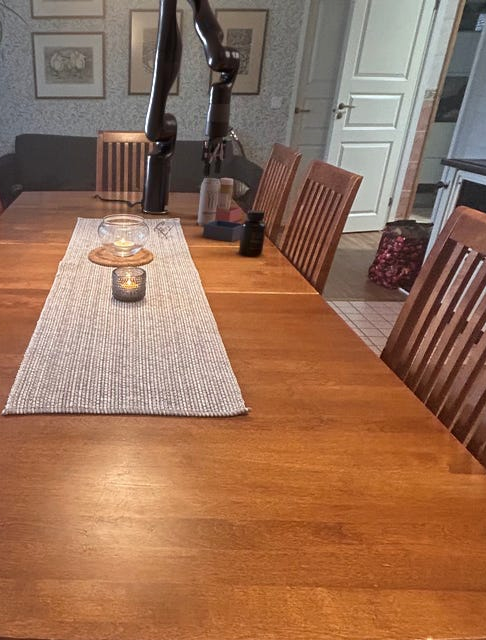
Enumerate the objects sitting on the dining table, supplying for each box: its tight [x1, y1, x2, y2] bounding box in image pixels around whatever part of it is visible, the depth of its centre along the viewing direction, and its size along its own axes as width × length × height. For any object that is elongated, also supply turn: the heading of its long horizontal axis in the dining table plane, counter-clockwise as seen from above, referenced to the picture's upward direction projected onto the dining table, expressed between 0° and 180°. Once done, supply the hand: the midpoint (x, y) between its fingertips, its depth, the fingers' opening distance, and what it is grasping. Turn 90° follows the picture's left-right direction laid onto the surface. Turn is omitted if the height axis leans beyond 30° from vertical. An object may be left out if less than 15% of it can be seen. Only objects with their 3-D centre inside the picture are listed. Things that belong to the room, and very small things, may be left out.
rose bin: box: [215, 204, 242, 222], centre depth 220 cm, size 10×10×4 cm
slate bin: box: [202, 220, 243, 243], centre depth 193 cm, size 10×10×4 cm
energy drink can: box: [197, 177, 220, 227], centre depth 206 cm, size 6×6×15 cm
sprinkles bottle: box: [217, 177, 234, 211], centre depth 217 cm, size 5×5×13 cm
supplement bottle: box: [238, 209, 267, 258], centre depth 172 cm, size 7×7×12 cm
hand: (211, 174), depth 202 cm, fingers open, 8 cm apart
